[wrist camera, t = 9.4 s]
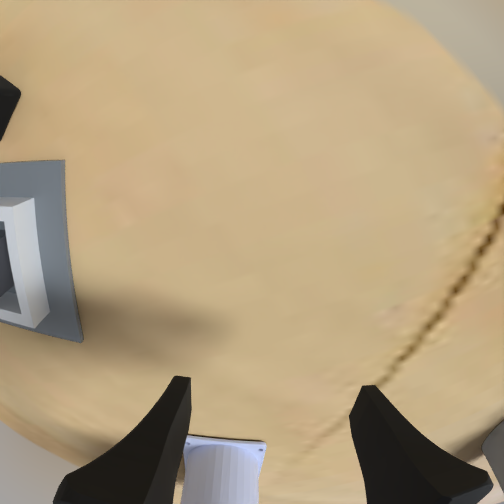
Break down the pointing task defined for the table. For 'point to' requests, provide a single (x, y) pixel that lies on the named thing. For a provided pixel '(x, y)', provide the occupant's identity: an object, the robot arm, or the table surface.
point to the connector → (5, 265)
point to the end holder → (38, 249)
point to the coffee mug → (496, 452)
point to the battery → (7, 102)
